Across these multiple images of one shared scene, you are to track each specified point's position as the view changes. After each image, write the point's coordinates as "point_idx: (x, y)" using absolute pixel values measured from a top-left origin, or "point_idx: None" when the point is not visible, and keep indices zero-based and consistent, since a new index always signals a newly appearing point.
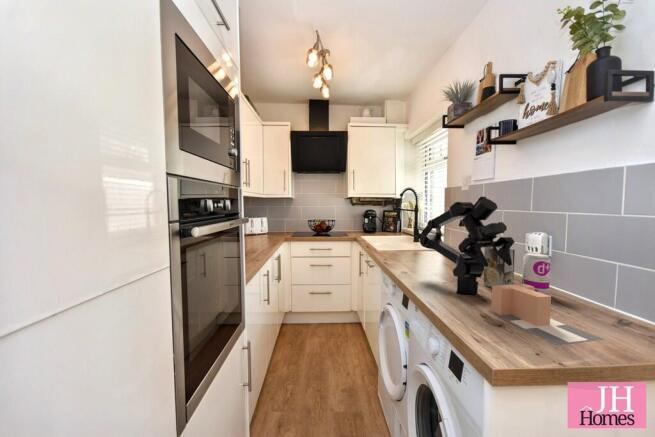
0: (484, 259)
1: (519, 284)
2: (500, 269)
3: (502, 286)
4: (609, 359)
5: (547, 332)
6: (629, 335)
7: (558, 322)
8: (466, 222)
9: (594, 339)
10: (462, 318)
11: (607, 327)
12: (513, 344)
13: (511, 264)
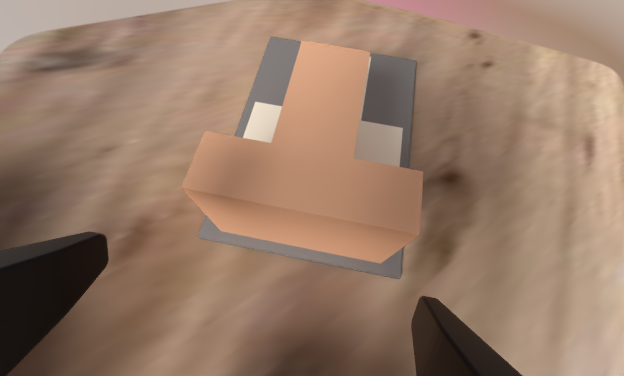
0: (488, 352)
1: (225, 189)
2: None
3: (371, 201)
4: (362, 12)
5: (365, 96)
6: (174, 31)
7: (256, 115)
8: None
9: (294, 43)
10: (542, 267)
11: (156, 63)
12: (506, 102)
13: (103, 234)
